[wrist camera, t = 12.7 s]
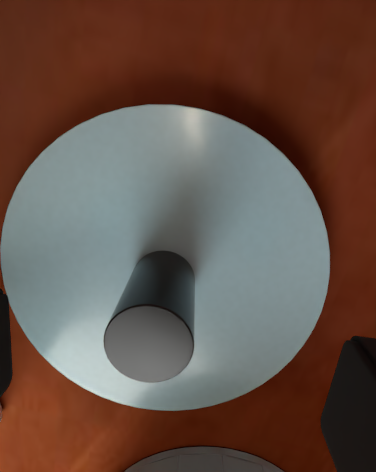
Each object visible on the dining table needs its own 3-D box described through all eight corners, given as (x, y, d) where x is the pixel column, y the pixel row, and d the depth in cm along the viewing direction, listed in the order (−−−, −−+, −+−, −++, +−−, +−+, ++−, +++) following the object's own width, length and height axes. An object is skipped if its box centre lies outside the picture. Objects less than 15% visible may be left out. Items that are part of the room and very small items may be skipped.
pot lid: (215, 28, 13) (229, -58, 7) (372, 311, 16) (468, 407, 10) (-51, 225, 16) (-196, 279, 10) (132, 433, 19) (104, 563, 13)
